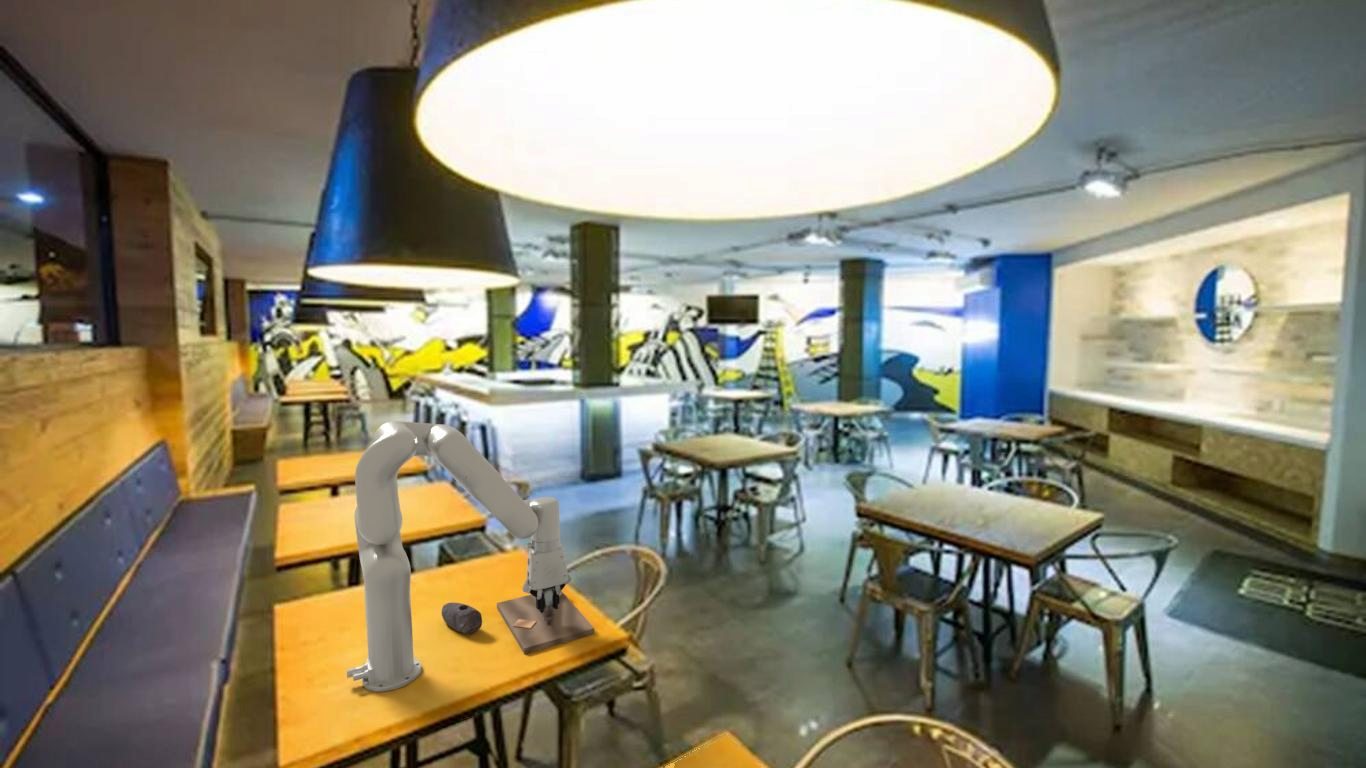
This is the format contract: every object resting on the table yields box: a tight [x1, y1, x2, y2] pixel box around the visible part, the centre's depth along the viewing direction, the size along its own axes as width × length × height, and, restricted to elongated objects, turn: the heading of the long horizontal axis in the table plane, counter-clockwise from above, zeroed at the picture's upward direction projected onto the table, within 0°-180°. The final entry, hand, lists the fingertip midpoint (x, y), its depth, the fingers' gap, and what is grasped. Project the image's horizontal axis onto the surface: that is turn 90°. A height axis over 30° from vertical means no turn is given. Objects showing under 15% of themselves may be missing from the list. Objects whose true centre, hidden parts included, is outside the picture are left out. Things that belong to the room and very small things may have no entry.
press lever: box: [542, 587, 554, 621], centre depth 170 cm, size 4×22×11 cm, turn 10°
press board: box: [496, 590, 595, 655], centre depth 167 cm, size 19×28×2 cm
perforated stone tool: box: [441, 602, 483, 635], centre depth 162 cm, size 15×5×7 cm, turn 54°
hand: (547, 608), depth 161 cm, fingers closed on press lever, 3 cm apart
